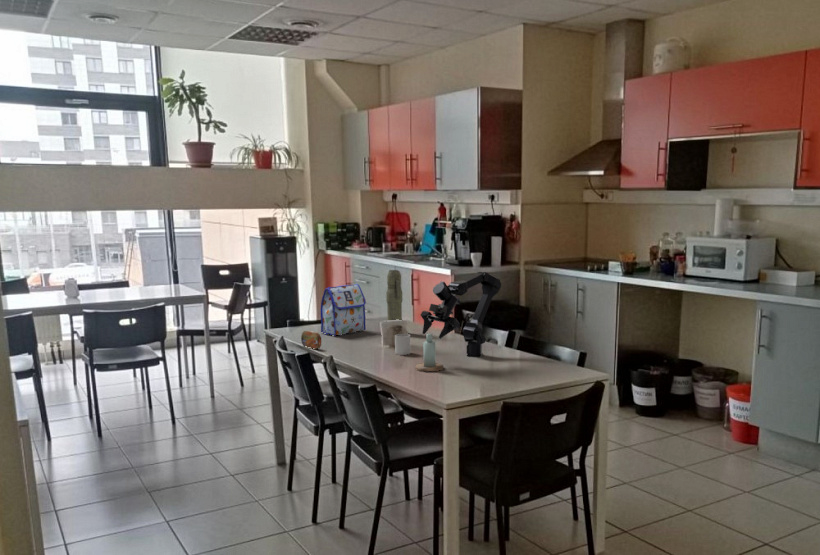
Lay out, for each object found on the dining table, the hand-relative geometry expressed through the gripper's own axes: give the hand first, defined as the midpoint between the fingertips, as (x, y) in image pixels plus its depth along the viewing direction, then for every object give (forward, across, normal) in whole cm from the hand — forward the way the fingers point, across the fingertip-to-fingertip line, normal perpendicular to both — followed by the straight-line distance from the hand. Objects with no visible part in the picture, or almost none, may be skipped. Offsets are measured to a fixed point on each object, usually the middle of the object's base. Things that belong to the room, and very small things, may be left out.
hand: (431, 335), depth 284 cm
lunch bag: (-2, -85, +35) cm, 92 cm away
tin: (+21, -69, +6) cm, 72 cm away
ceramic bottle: (+12, +3, +5) cm, 13 cm away
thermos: (-15, -62, +46) cm, 79 cm away
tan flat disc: (+12, +3, +6) cm, 14 cm away
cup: (+5, -27, +19) cm, 33 cm away
